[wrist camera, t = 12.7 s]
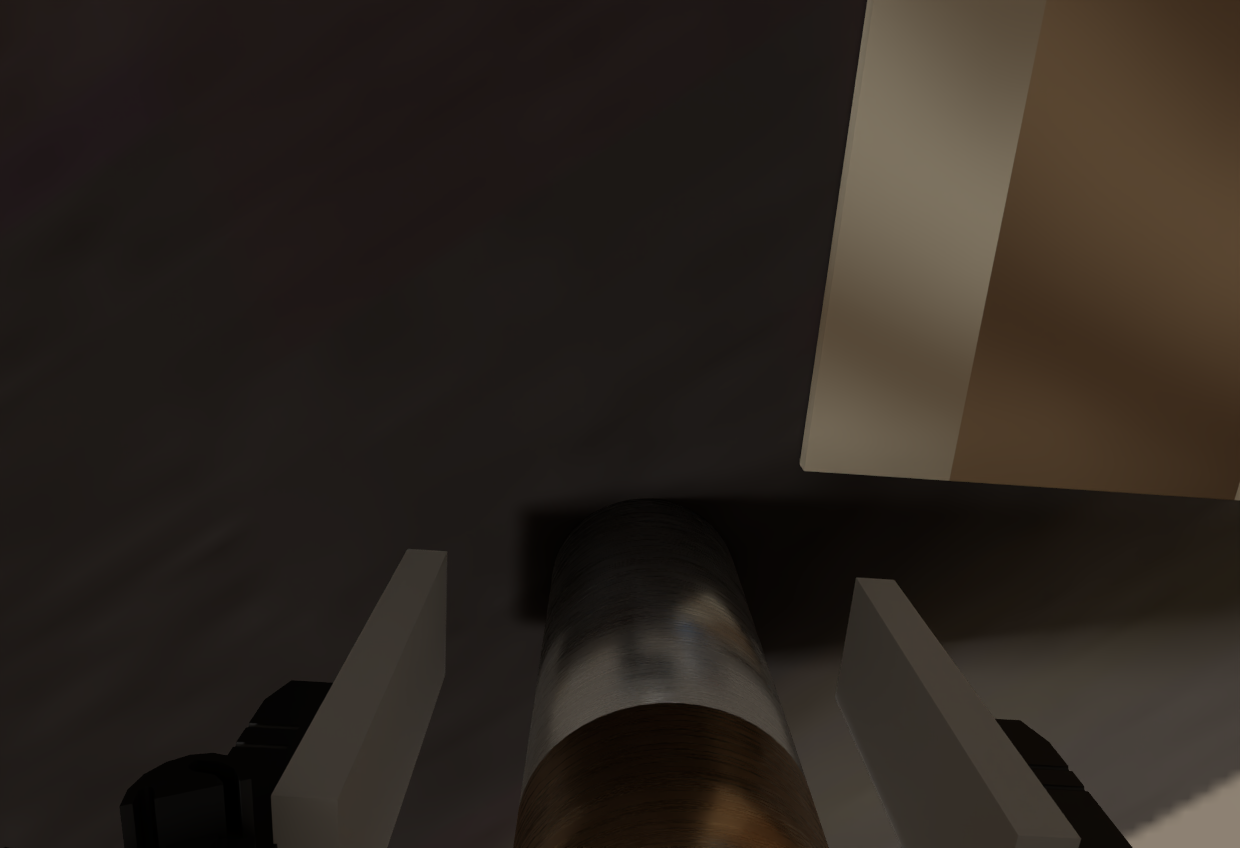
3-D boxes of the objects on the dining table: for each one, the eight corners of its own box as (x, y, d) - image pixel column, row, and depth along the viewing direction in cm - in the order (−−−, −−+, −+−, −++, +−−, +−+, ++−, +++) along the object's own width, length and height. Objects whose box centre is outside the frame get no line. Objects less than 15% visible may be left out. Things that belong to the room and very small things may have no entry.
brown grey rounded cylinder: (556, 493, 17) (474, 996, 6) (745, 505, 17) (966, 1017, 7) (546, 660, 18) (462, 1322, 8) (724, 670, 18) (885, 1334, 8)
